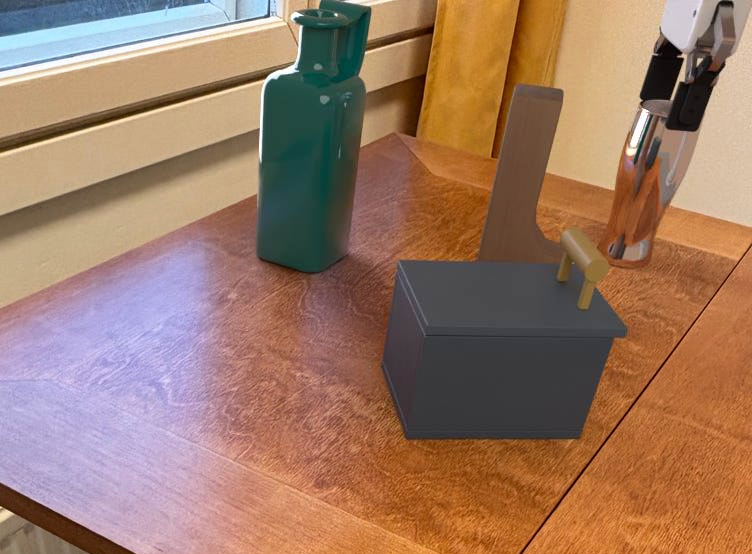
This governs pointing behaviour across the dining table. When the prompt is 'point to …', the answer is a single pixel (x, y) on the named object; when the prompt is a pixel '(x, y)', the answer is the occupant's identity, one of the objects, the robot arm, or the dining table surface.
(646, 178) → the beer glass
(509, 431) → the chest
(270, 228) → the green bottle
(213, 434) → the dining table surface
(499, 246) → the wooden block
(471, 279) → the lid
